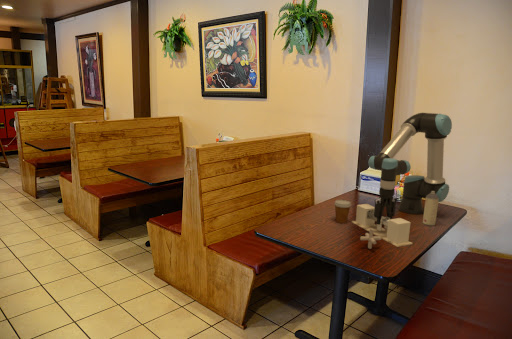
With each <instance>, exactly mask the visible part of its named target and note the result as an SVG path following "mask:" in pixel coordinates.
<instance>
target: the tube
mask: <svg viewBox="0 0 512 339" xmlns="http://www.w3.org/2000/svg"><path fill="white" fill-rule="evenodd" d="M367 217H369V218H371V219H373V220H375V222H377V218H376V217H374V212H373V211H368V212H367ZM381 219H382V226H383V225H384V226H387V227H388V220H390V219H388V218H386V216H384V215H382V218H381Z"/></svg>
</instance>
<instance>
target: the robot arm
mask: <svg viewBox="0 0 512 339" xmlns="http://www.w3.org/2000/svg"><path fill="white" fill-rule="evenodd" d="M452 128H453V123H452V119H451V117H450V116H449V115H447V114H442V113H435V112H434V113H433V112H432V113H431V112H418V113H416V114H413V115H411V116H410V117H409V118H407V119H406V120H405V121H404V122H402V124H401V125H400V129H398V131H397V132H396V134H394V135H393V137H392V138H391V139H390V141H389V142H388V143H387V144H386V145H385V146H384V147H383V148H382V150H381V151H380V152H379V153H378V154H377V155H372V156H370V157H369V159H368V161H367V162H368V164H367V165H368V167H369V168H370V169H372V170H375V171H376V170H377V171H381V172H380V182H379V191H378V193H379V196H378V199H374V207H375V211H374V217H376V218H377V221H376V225H377V229H378V230H380V231H381V229H382V228H384V229H386V230H387V229H388V227H387V226H385V225H384V227H382V226H383V224H382V219H381V218H382V216H383V214H384V211H386V212H385V213H386V216H385V217H386V218H388V219H394V218H393V217H394V216H395V212H396V204H397V201H398V198H396V197H394V196H395V188H396V179H397V176H401V175H405V174H408V173H409V172H411V163H410V162H409V161H407V160H406V159H401V160H398V159H397V158H394V157H395V156H397V154H398V153H399V151H400V150H401V149H403V147H404V146H405V144H407V142H408V141H409V140H410V139H411V137H413V136H415V135H416V134H418V133H422V134H424V138H425V139H426V140H427V151H426V152H427V157H426V159H427V160H426V161H427V162H426V177H425V175H419V174H417V175H416V174H414V175H411V174H410V175H407V176H405V177H404V181H403V188H402V198H401V200H400V202H399V204H398V206H397V207H398V210H399V211H400V212H402V213H406V214H412V215H419V214H421V215H422V214H424V207H423V200H422V199H425V200H426V195H428V194H430V193H431V191H435V194H436V195H437V196H438V197H439V201H438V203H441V202H444V201H445V200H446V199H447V197H448V195H449V192H450V185H449V184H447V183H446V178H445V177H444V176H443V173H444V152H445V150H444V145H445V142H444V141H445V140H446V139H447V137H448V135H450V134H451V132H452Z"/></svg>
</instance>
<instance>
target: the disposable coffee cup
mask: <svg viewBox="0 0 512 339" xmlns="http://www.w3.org/2000/svg"><path fill="white" fill-rule="evenodd" d="M351 203H352V202H351V201H348V200H345V199H336V200H335V201H334V207H335V210H334V211H335V222H336V223H339V224H347V223H348V222H347V221H348V218H349V212H350V209H351V206H352V204H351Z"/></svg>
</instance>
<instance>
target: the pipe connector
mask: <svg viewBox="0 0 512 339" xmlns="http://www.w3.org/2000/svg"><path fill="white" fill-rule="evenodd" d="M364 235H365V236H360V237H359V239H360V241H368V242H367V249H370V250H371V249H373V245H377V241H381V240H382V238H381V236H376V235H374V234H373V228H370V230H369V231H368V232H365V234H364Z"/></svg>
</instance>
